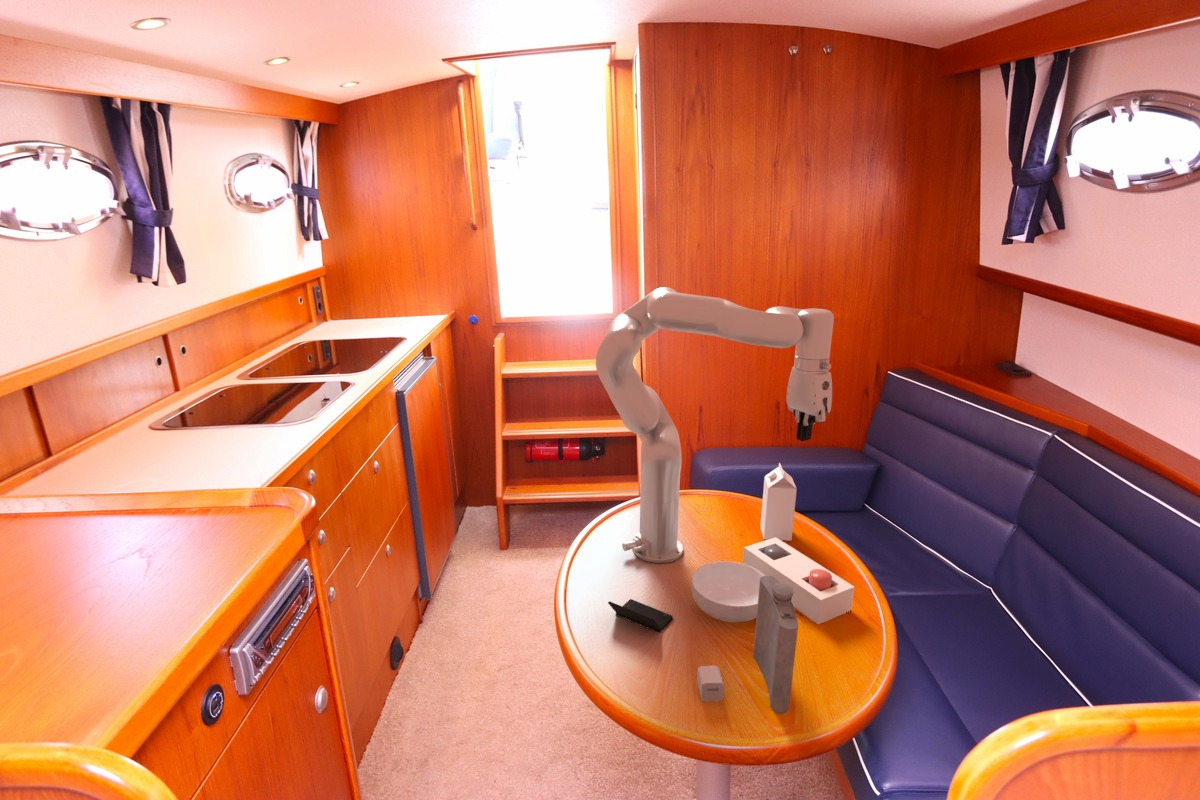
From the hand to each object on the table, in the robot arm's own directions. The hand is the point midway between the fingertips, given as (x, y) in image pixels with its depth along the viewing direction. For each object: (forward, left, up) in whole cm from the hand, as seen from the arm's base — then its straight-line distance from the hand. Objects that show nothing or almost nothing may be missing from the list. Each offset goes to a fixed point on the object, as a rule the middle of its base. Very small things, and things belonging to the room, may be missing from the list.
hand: (803, 439), depth 155 cm
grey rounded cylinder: (-10, -4, -30) cm, 32 cm away
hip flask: (-35, -31, -31) cm, 56 cm away
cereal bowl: (-28, -10, -31) cm, 43 cm away
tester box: (-10, -11, -31) cm, 34 cm away
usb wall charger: (-46, -26, -31) cm, 62 cm away
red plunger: (-10, -18, -29) cm, 36 cm away
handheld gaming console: (-47, -4, -32) cm, 57 cm away
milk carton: (+4, +10, -31) cm, 33 cm away
